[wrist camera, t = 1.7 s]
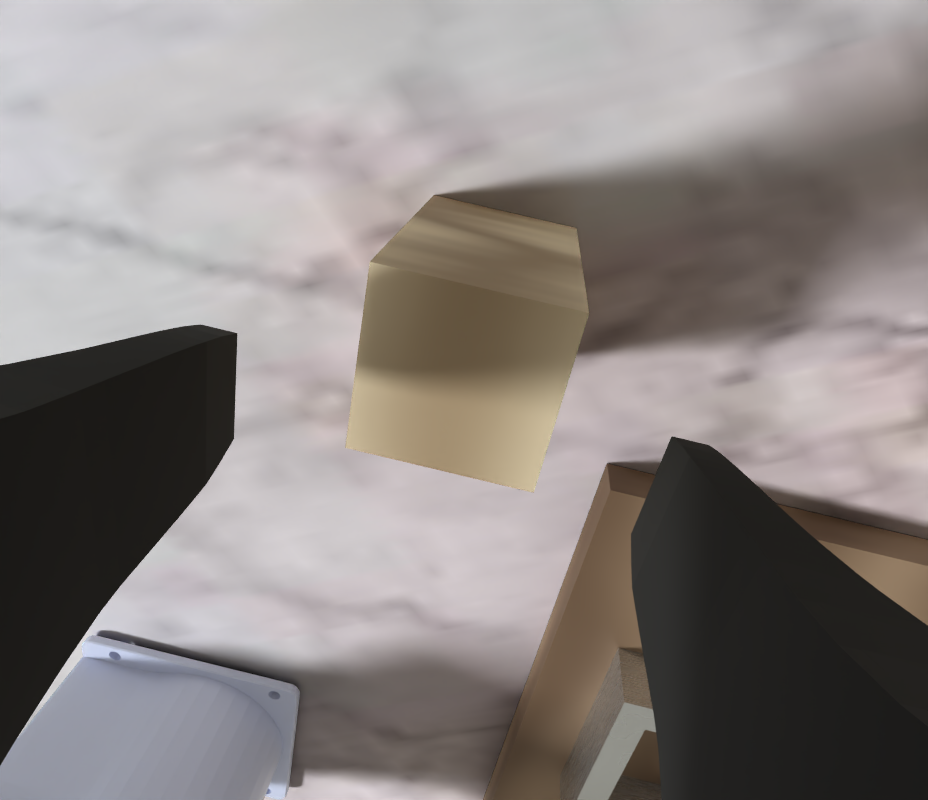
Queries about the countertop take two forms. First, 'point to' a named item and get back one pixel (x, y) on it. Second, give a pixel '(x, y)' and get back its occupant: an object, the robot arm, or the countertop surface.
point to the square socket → (612, 737)
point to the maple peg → (468, 342)
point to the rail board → (615, 625)
